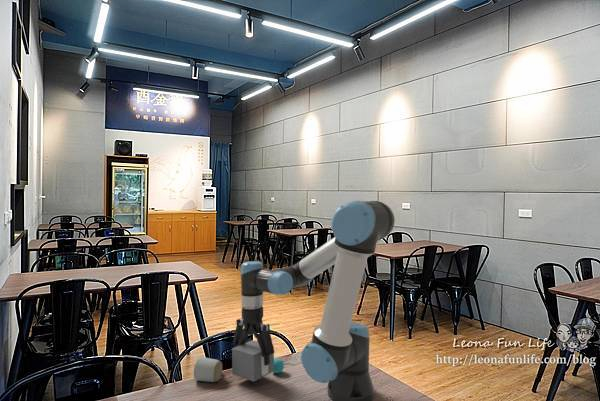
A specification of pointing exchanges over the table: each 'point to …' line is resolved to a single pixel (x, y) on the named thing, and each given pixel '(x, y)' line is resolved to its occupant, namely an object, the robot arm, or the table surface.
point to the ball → (278, 365)
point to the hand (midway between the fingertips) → (253, 370)
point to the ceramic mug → (207, 369)
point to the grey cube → (249, 361)
